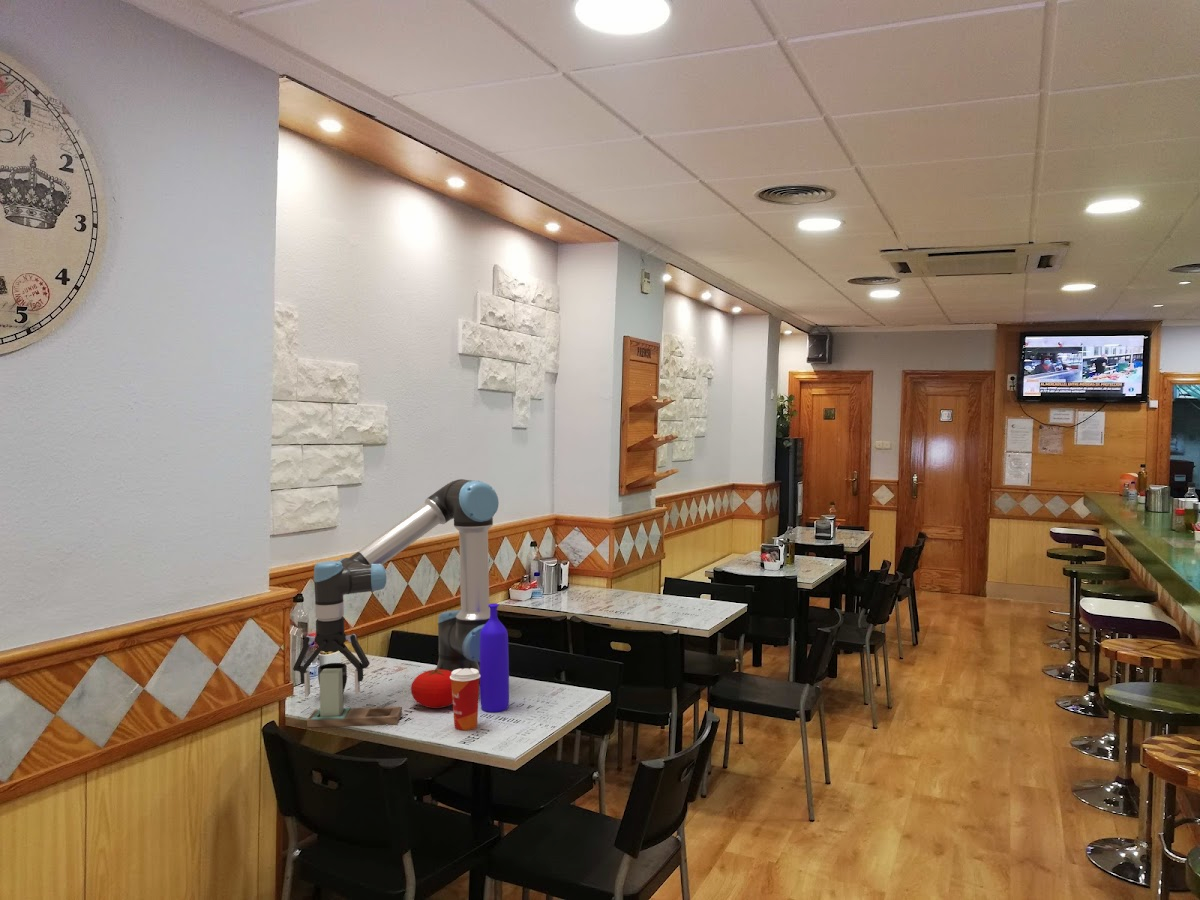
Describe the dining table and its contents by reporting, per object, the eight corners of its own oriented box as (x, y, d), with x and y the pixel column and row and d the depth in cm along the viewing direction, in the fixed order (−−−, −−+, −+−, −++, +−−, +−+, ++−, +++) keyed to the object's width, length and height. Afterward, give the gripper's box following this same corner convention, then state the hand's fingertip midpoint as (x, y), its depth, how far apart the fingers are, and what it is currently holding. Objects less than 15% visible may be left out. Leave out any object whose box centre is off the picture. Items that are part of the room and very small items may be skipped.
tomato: (467, 700, 263) (467, 665, 262) (451, 714, 250) (451, 677, 250) (422, 697, 265) (422, 663, 265) (404, 711, 253) (404, 675, 253)
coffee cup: (451, 722, 243) (450, 667, 243) (481, 720, 244) (481, 666, 244) (449, 732, 235) (448, 676, 234) (480, 731, 236) (479, 675, 235)
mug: (331, 706, 257) (330, 674, 257) (314, 697, 267) (313, 666, 266) (357, 700, 263) (357, 669, 263) (339, 692, 272) (339, 661, 272)
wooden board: (402, 713, 251) (401, 705, 251) (396, 724, 242) (396, 716, 242) (315, 716, 249) (315, 708, 249) (307, 727, 240) (307, 718, 240)
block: (343, 717, 248) (342, 668, 247) (339, 723, 243) (338, 673, 242) (325, 718, 247) (324, 668, 247) (320, 724, 242) (319, 673, 242)
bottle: (486, 714, 249) (484, 608, 248) (476, 706, 257) (474, 603, 256) (513, 709, 253) (512, 605, 252) (503, 701, 260) (501, 600, 260)
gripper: (378, 613, 249) (380, 687, 250) (287, 616, 247) (290, 691, 248) (373, 619, 241) (375, 696, 242) (279, 622, 240) (282, 700, 240)
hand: (332, 694), depth 245 cm, fingers open, 13 cm apart
